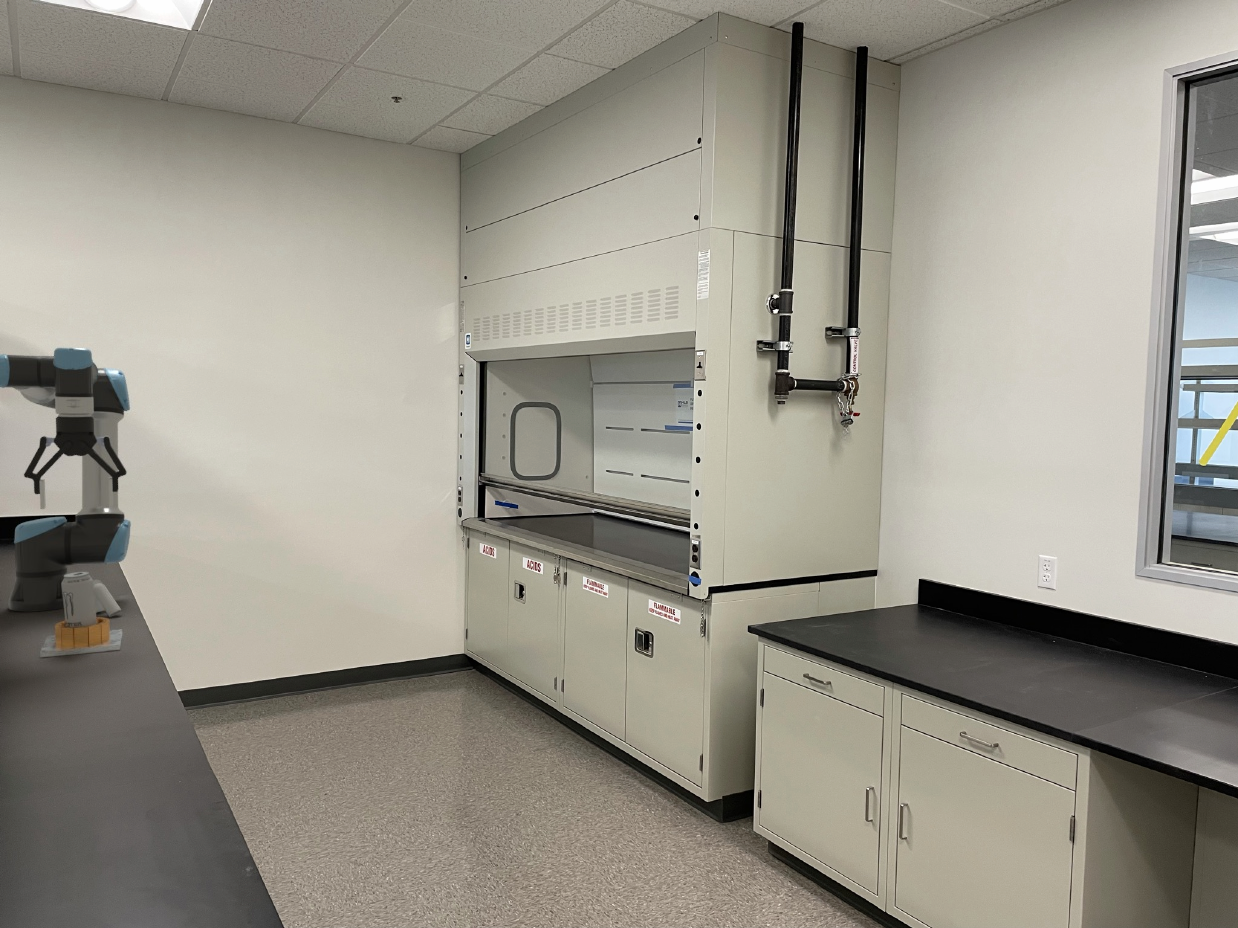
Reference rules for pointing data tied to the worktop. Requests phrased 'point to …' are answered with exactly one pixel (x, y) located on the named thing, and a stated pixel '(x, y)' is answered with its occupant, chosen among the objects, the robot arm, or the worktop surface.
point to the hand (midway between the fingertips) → (77, 507)
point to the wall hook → (104, 599)
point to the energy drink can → (78, 599)
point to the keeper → (82, 639)
